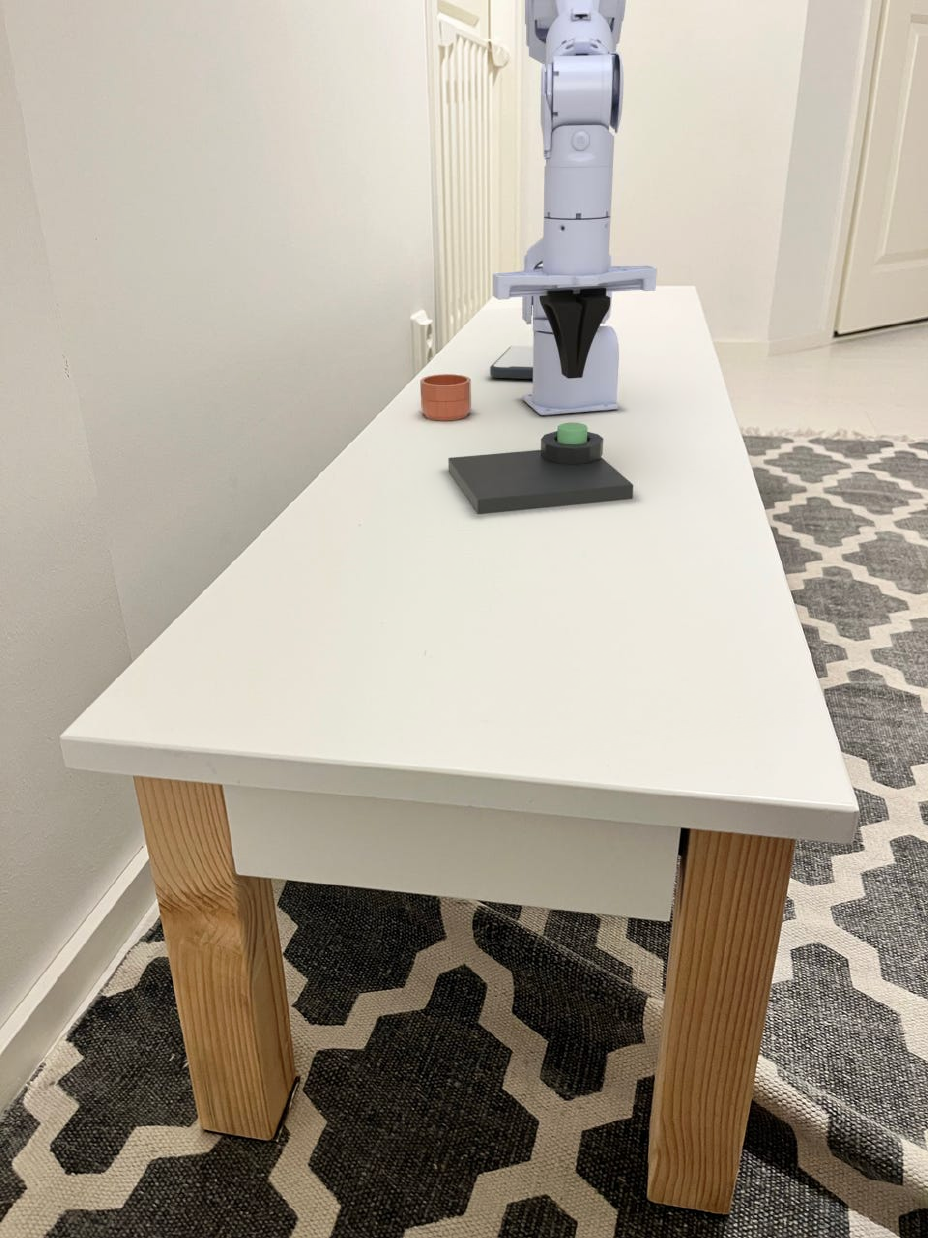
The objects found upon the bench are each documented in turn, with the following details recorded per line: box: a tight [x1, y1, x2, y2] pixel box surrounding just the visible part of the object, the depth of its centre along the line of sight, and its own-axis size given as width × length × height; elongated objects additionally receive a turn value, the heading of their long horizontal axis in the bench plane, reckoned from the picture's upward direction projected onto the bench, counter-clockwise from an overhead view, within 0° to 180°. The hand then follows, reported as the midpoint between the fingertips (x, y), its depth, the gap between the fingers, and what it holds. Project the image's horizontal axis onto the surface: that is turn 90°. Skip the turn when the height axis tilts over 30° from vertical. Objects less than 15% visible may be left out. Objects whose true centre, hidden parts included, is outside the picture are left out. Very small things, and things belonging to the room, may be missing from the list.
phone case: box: [489, 345, 533, 380], centre depth 131 cm, size 9×2×16 cm
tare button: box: [557, 422, 588, 444], centre depth 92 cm, size 3×3×2 cm
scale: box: [447, 430, 634, 515], centre depth 89 cm, size 14×12×3 cm
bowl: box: [419, 373, 472, 422], centre depth 110 cm, size 6×6×4 cm
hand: (571, 375), depth 89 cm, fingers closed
